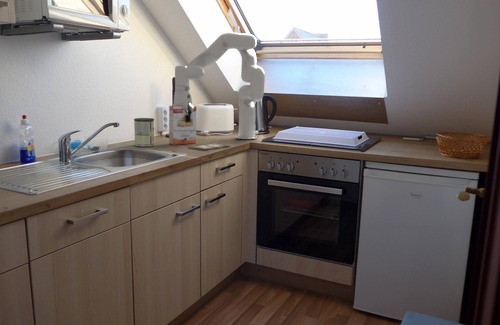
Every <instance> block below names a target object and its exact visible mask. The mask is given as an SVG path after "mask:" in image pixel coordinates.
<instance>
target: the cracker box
mask: <svg viewBox="0 0 500 325" xmlns="http://www.w3.org/2000/svg"><path fill="white" fill-rule="evenodd" d="M192 106H193V107H194V110H193V112H192V113H191V122H186V112H185V110H183V107H182V106H172V105H169V106H168V107H169V108H168V109H169V110H168V113H169V114H168V122H169V123H168V124H169V125H168V143H169V144H170V145H172V146H175V145H194V144H195V145H196V144H197V106H196V105H192ZM189 108H190V107H189ZM187 109H188V108H187Z"/></svg>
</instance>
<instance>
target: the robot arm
mask: <svg viewBox="0 0 500 325" xmlns="http://www.w3.org/2000/svg"><path fill="white" fill-rule="evenodd" d="M256 46H257V38H256V37H255V35H253V34H251V33H240V32H239V33H238V32H227V33H222V34H221V35H219V36H218V37H217V38H216V39H215V40H213V42H212V43H211V44H210V45H209V46H208V47H207V48H206V49H205V50H204V51H202V52H201V53H199V54H198V55H197V56H195V57H194V58H193V59H192V60H191V61H190V62H189V63H188V64H187V65H176V66H175V67H174V84H175V85H174V88H175V91H174V95H173V104H172V105H171V106H182V107H183V110H185V112H186V122H191V113H192V112H193V110H194V107H193V106H194V105H193V98H192V94H191V91H190V89H191V88H190V80H192V81H193V80H202V78H204V76H205V70H204V68H206V67H207V66H210V65H212V64H214V63H216V62H218V61H219V60H220V59H221V57H222V56H223V55H225V54H226V53H227V52H228V50H230V49H233V50H234V49H236V51H238V52H239V55H240V56H241V71H240V72H241V74H240V77H241V80H242V81H243V82H245V83H249V84H244V85H242V86H240V87H239V89H238V90H237V91H238V92H237V97H238V103H239V106H238V110H239V111H238V135H236V136H235V139H241V140H255V139H257V138H258V136H257V135H258V134H259V130H255V129H256V126H255V125H256V105H255V103H258V102H260V101H262V100H263V98H264V95H265V94H264V93H265V83H266V82H265V80H266V77H265V76H266V74H265V71H264V69H263V68H262V67H261V66H259V65H257V55H256V54H257V53H256V51H255V50H254V49H255V48H256ZM189 107H190V108H189ZM187 108H188V109H187Z"/></svg>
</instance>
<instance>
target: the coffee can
mask: <svg viewBox="0 0 500 325" xmlns="http://www.w3.org/2000/svg"><path fill="white" fill-rule="evenodd" d="M133 122H134V124H133V125H134V146H136V147H153V146H155V119H154V118H152V117H151V118H149V117H136V118H133Z"/></svg>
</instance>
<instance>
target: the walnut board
mask: <svg viewBox="0 0 500 325" xmlns="http://www.w3.org/2000/svg"><path fill="white" fill-rule="evenodd" d="M226 148H230V145H227V144H220V143H206V144H197V145H191V146H187V149H191V150H197V151H202V152H203V151H204V152H205V151H206V152H208V151H213V150H219V149H220V150H221V149H226Z"/></svg>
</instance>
